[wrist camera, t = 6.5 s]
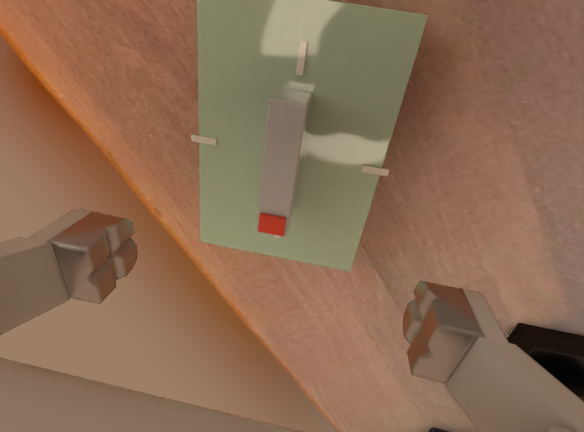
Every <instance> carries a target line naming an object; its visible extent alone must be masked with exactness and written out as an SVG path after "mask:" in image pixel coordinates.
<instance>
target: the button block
mask: <svg viewBox="0 0 584 432" xmlns="http://www.w3.org/2000/svg"><path fill="white" fill-rule="evenodd" d="M507 340H508V342H509V343H511V344H516V345H517V346H518V347H519V348H520V349H522V350H523V351H524V352H525V353H526V354H527V355H529V356H530V357H531V358H532V359H533V360H535V361H536V362H537V363H538V364H539V365H541V366H542V367H543V368H544V369H545V370H546V371H548V372H549V373H550V374H551V375H552V376H554V377H555V378H556V379H557V380H558V381H560V382H561V383H562V384H563V385H564V386H565V387H567V388H568V389H569V390H570V391H571V392H573V393H574V394H575V395H576V396H577V397H579V398H580V399H581V400H582V401H583V402H584V336H579V335H574V334H569V333H564V332H559V331H554V330H549V329H544V328H539V327H534V326H529V325H524V324H518V326H517V327H516V328H515V330H514V331H513V333H512V334H511V335H510V337H509V338H508V339H507Z"/></svg>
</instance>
